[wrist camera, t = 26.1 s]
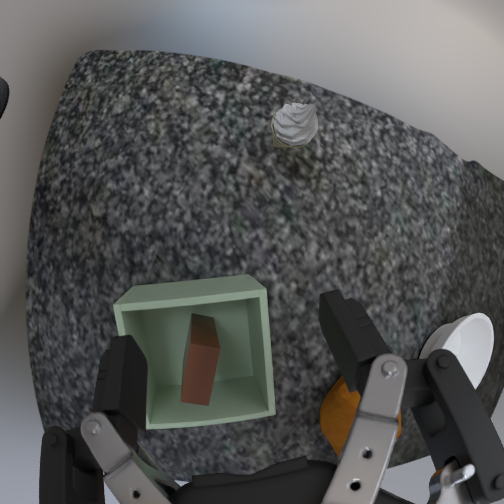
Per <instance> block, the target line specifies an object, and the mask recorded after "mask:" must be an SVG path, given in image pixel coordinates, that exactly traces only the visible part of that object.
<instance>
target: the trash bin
mask: <svg viewBox="0 0 504 504" xmlns="http://www.w3.org/2000/svg"><path fill="white" fill-rule="evenodd" d="M113 308H114V313H115V319H116V324H117V329H118V333H119V336H122V335H129V334H130V335H132V337H133V338H134V340H135V341H136V343H137V344H138V346H139V347H140V349H141V350H142V352H143V353H144V355H145V357H146V360H147V364H148V377H147V403H146V429H164V428H181V427H194V426H204V425H213V424H221V423H229V422H236V421H243V420H249V419H255V418H260V417H266V416H271V415H275V414H276V412H275V397H274V383H273V368H272V355H271V341H270V328H269V315H268V302H267V289H266V288H265V287H264V286H262V285H261V284H260V283H259V282H257V281H256V280H255V279H254V278H253V277H251V276H250V275H249V274H245V275H236V276H227V277H218V278H209V279H199V280H190V281H180V282H170V283H160V284H150V285H139V286H133V287H132V288H131V289H130V290H129V291H127V292H126V293H125V294H124V295H123V296H122V297H121V298H120V299H119V300H118V301H116V302H115V303H114V304H113ZM191 313H194V314H199V315H205V316H210V317H214V322H215V326H216V331H217V335H218V340H219V344H220V349H221V350H220V354H219V359H218V364H217V369H216V373H215V378H214V383H213V387H212V392H211V397H210V402H209V406H205V405H198V404H191V403H185V402H181V384H182V369H183V358H184V352H185V346H186V340H187V335H188V329H189V324H190V318H191Z"/></svg>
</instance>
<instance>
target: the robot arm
mask: <svg viewBox="0 0 504 504" xmlns="http://www.w3.org/2000/svg"><path fill="white" fill-rule="evenodd" d="M319 321H320V326H321V330H322V332H323V334H324V337H325V339H326V341H327V343H328V345H329V347H330V350H331V352H332V354H333V356H334V358H335V361H336V363H337V365H338V367H339V370H340V372H341V374H342V376H343V378H344V381H345V383H346V385H347V387H348V390H349V392H350V393H352V392H355V391H358V392H359V395H360V397H361V398H360V401H359V404H358V407H357V410H356V413H355V416H354V419H353V422H352V425H351V427H350V430H349V433H348V436H347V438H346V441H345V443H344V446H343V448H342V450H341V453H340V455H339V458H338V460H337V463H336V464H334V463H331V462H327V461H321V460H307V457H306V456H302V457H299V458H295V459H291V460H287V461H283V462H278V463H276V464H274V465H272V466H270V467H267V468H265V469H263V470H261V471H258V472H256V473H254V474H251V475H237V474H225V473H215V474H205V475H194V476H192V480H193V481H191V482H189V483H187V484H185V485H183V486H180V485H179V484H177V483H176V482H175V481H174V480H173V479H172V478H171V477H170V476H168V475H167V474H166V473H165V472H164V471H163V470H162V469H161V468H160V467H159V466H158V465H157V464H156V462H155V461H154V460H153V459H152V458H151V457H150V455H149V454H148V453H147V452H146V451H145V449H144V448H143V447H142V446H141V445H140V443H139V442H138V441H137V434H146V403H147V377H148V364H147V360H146V357H145V355H144V353H143V352H142V350H141V349H140V347H139V346H138V344H137V343H136V341H135V340H134V338H133V337H132V335H130V334H129V335H122V336H116V337H114V338H113V340H112V344H111V350H106V351H105V353H104V355H103V356H102V358H101V360H100V365H99V370H98V371H99V372H98V376H97V382H96V388H95V395H94V402H93V409H92V413H91V414H89V415H87V416H86V417H85V418H84V420H83V421H82V424H81V426H79V427H76V428H73V429H70V430H67V431H64V430H63V429H61V428H60V427H58V426H52V427H50V428H48V429H47V430H46V431H45V433H44V435H43V437H42V446H41V458H40V479H39V504H105V496H104V481H105V483H106V485H107V486H108V488H109V489H110V490H111V492H112V493H113V495H114V496H115V497H116V499H117V500H118V501H119V503H120V504H414V503H412V502H410V501H407V500H405V499H403V498H400V497H398V496H396V495H394V494H392V493H390V492H388V491H386V490H384V489H382V488H380V486H381V483H382V481H383V478H384V475H385V472H386V469H387V466H388V463H389V460H390V457H391V453H392V450H393V446H394V443H395V439H396V436H397V432H398V428H399V421H398V415H399V411H400V409H402V408H411V410H412V412H413V414H414V417H415V419H416V421H417V424H418V426H419V428H420V431H421V433H422V436H423V438H424V440H425V443H426V445H427V448H428V450H429V453H430V456H431V458H432V461H433V463H434V466H435V469H436V472H435V473H434V474H433V476H432V477H431V479H430V483H429V490H430V497H429V501H428V503H427V504H490V503H493V502H495V501H498V500H501V499H503V498H504V448H503V445H502V443H501V440H500V438H499V436H498V434H497V432H496V430H495V427H494V425H493V423H492V421H491V419H490V417H489V415H488V413H487V411H486V409H485V407H484V405H483V403H482V401H481V399H480V398H479V396H478V394H477V392H476V390H475V388H474V387H473V385H472V383H471V381H470V379H469V378H468V376H467V374H466V372H465V371H464V369H463V367H462V366H461V364H460V362H459V361H458V359H457V357H456V356H455V355H454V354H453V353H452V352H451V351H449V350H447V349H436V350H434V351H432V352H431V353H430V354H429V356H428V358H424V359H415V360H404V359H402V358H401V357H399V356H398V355H395V354H393V353H392V352H391V351H390V350H389V348H388V347H387V345H386V343H385V342H384V340H383V338H382V337H381V335H380V333H379V332H378V330H377V329H376V327H375V325H374V324H373V323H372V320H371V319H370V317H369V316H368V314H367V313H366V311H365V309H364V308H363V306H362V305H361V304H360V303H358V302H357V301H355V300H354V299H353V298H350V299H347V300H345V299H344V298H343V296H342V294H341V293H340V291H339V290H338V289H336V290H333V291H329V292H325V293H322V294H320V304H319ZM103 471H104V473H105V475H103Z"/></svg>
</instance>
